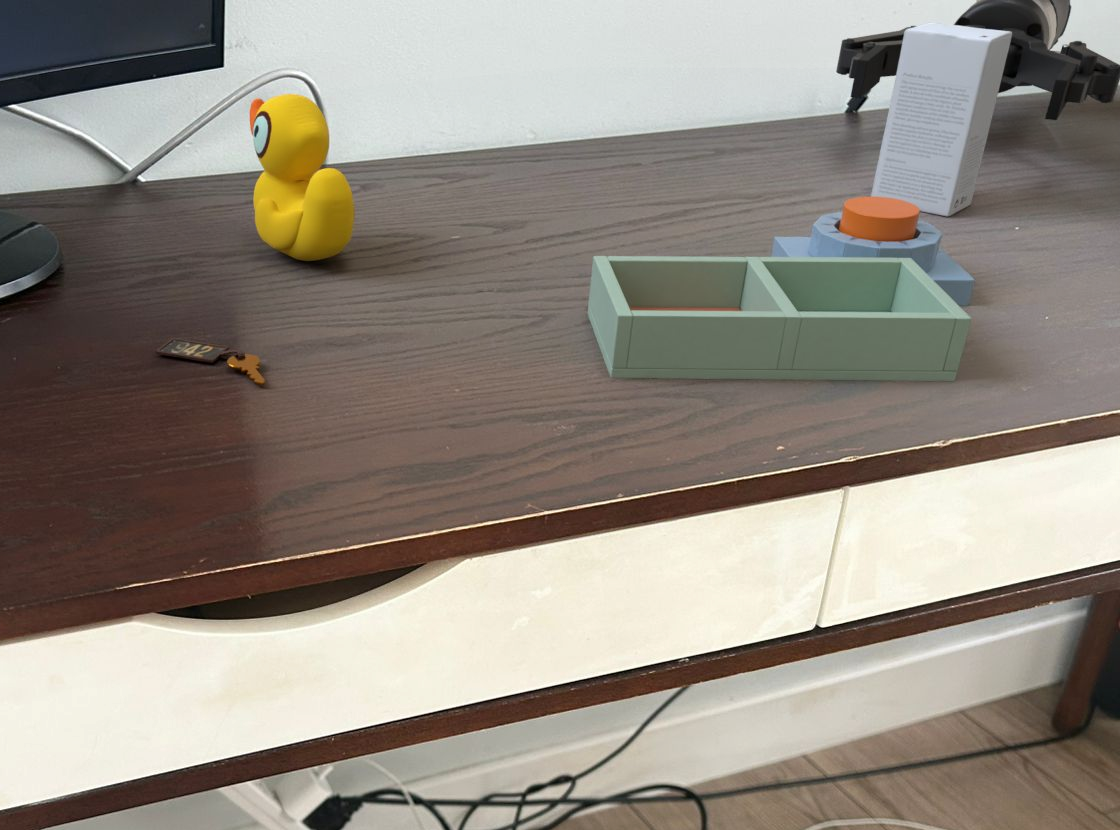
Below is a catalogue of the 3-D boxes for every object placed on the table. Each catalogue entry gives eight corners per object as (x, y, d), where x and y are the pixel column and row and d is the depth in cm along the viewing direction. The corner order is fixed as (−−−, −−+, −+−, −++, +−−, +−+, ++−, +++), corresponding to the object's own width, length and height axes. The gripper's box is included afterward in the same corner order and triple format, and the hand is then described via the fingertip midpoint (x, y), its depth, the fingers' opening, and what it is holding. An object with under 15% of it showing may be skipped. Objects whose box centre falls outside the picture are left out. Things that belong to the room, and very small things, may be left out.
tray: (897, 316, 81) (911, 257, 79) (955, 382, 73) (972, 318, 71) (587, 314, 82) (593, 255, 80) (610, 378, 74) (618, 315, 72)
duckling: (223, 236, 95) (217, 85, 89) (291, 223, 97) (289, 76, 91) (302, 285, 86) (300, 122, 81) (375, 270, 88) (377, 111, 83)
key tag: (148, 351, 77) (147, 341, 77) (183, 335, 79) (182, 325, 79) (261, 386, 73) (261, 376, 72) (296, 368, 75) (295, 358, 74)
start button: (900, 223, 86) (906, 196, 85) (923, 246, 82) (930, 217, 82) (829, 223, 86) (835, 195, 85) (850, 246, 83) (856, 217, 82)
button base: (923, 262, 89) (936, 209, 87) (968, 306, 83) (983, 250, 81) (769, 261, 90) (779, 208, 88) (801, 305, 83) (812, 249, 81)
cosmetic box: (972, 206, 100) (1016, 31, 93) (948, 219, 97) (992, 40, 91) (891, 189, 103) (929, 20, 97) (866, 202, 101) (903, 28, 94)
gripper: (1151, 103, 112) (1128, 164, 96) (840, 71, 123) (775, 121, 107) (1182, 4, 108) (1163, 52, 92) (857, -20, 119) (792, 19, 103)
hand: (954, 89), depth 100 cm, fingers open, 13 cm apart
